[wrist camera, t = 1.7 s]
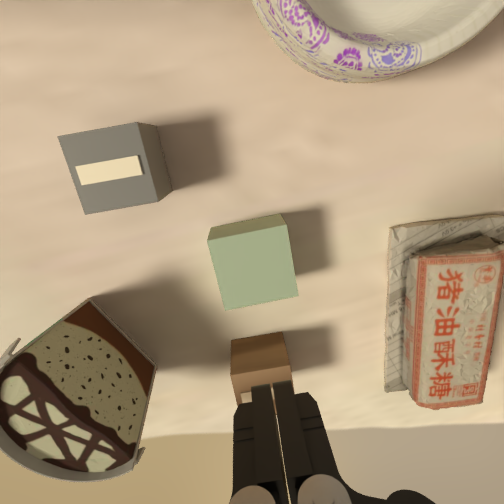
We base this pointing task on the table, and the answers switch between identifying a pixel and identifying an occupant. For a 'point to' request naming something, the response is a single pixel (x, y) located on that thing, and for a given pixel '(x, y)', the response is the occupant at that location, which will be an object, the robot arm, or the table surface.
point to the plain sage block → (253, 261)
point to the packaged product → (443, 308)
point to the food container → (75, 399)
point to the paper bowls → (372, 33)
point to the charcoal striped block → (117, 166)
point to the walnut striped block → (258, 364)
